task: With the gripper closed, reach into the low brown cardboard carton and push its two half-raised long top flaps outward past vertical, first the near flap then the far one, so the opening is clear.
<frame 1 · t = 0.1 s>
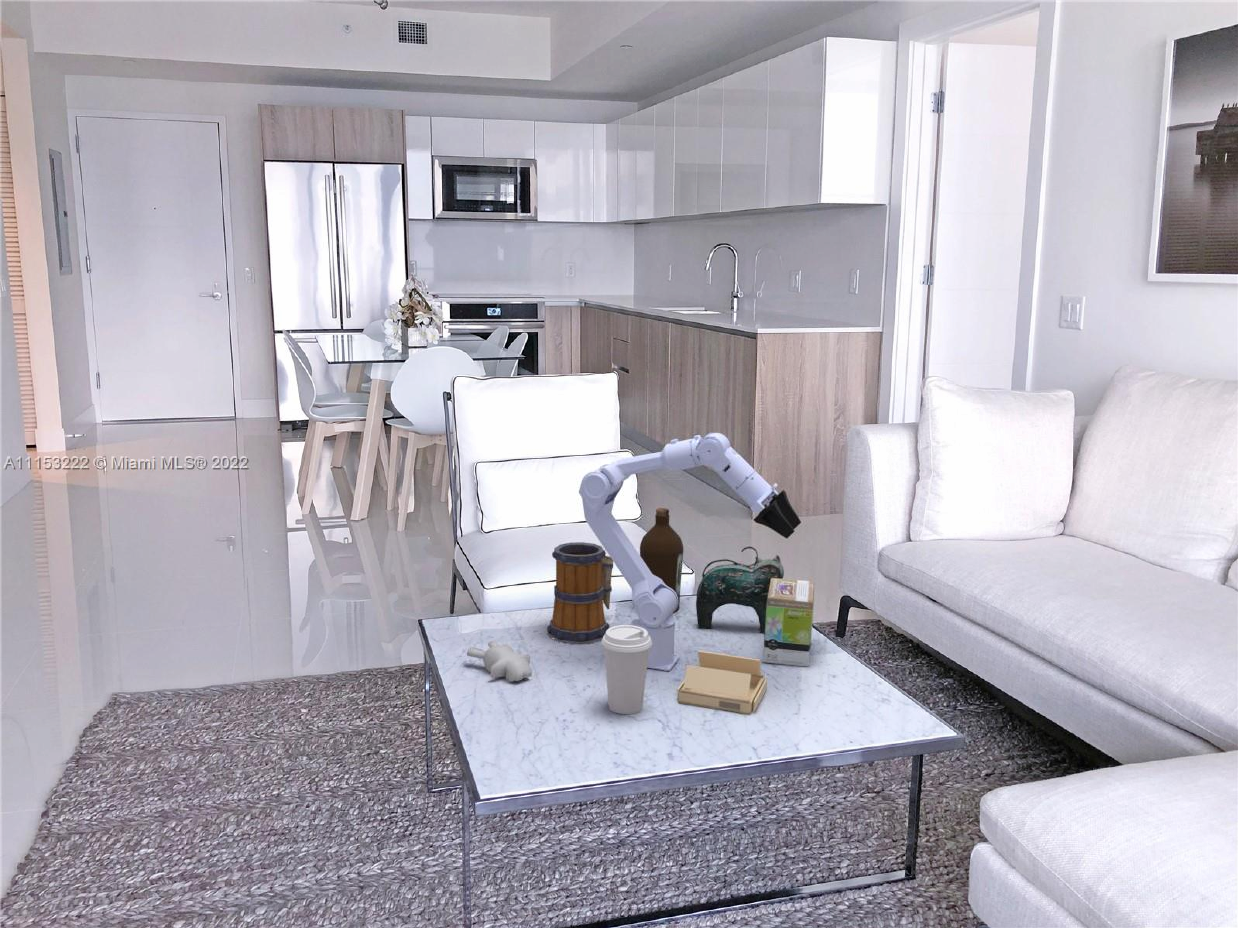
hand: (794, 530, 196), 32 cm above the table, tool tilted 50°, fingers open, 7 cm apart
flap near: (717, 681, 190), point 5 cm above the table, hinge at -30.0°
carton: (722, 694, 196), on the table
flap far: (729, 662, 199), point 5 cm above the table, hinge at -30.0°
coffee cup: (625, 707, 190), on the table
tea box: (787, 653, 218), on the table
green animal figurine: (737, 630, 231), on the table
bunny figurine: (501, 672, 206), on the table
olive oil: (660, 608, 245), on the table
mug: (584, 630, 230), on the table
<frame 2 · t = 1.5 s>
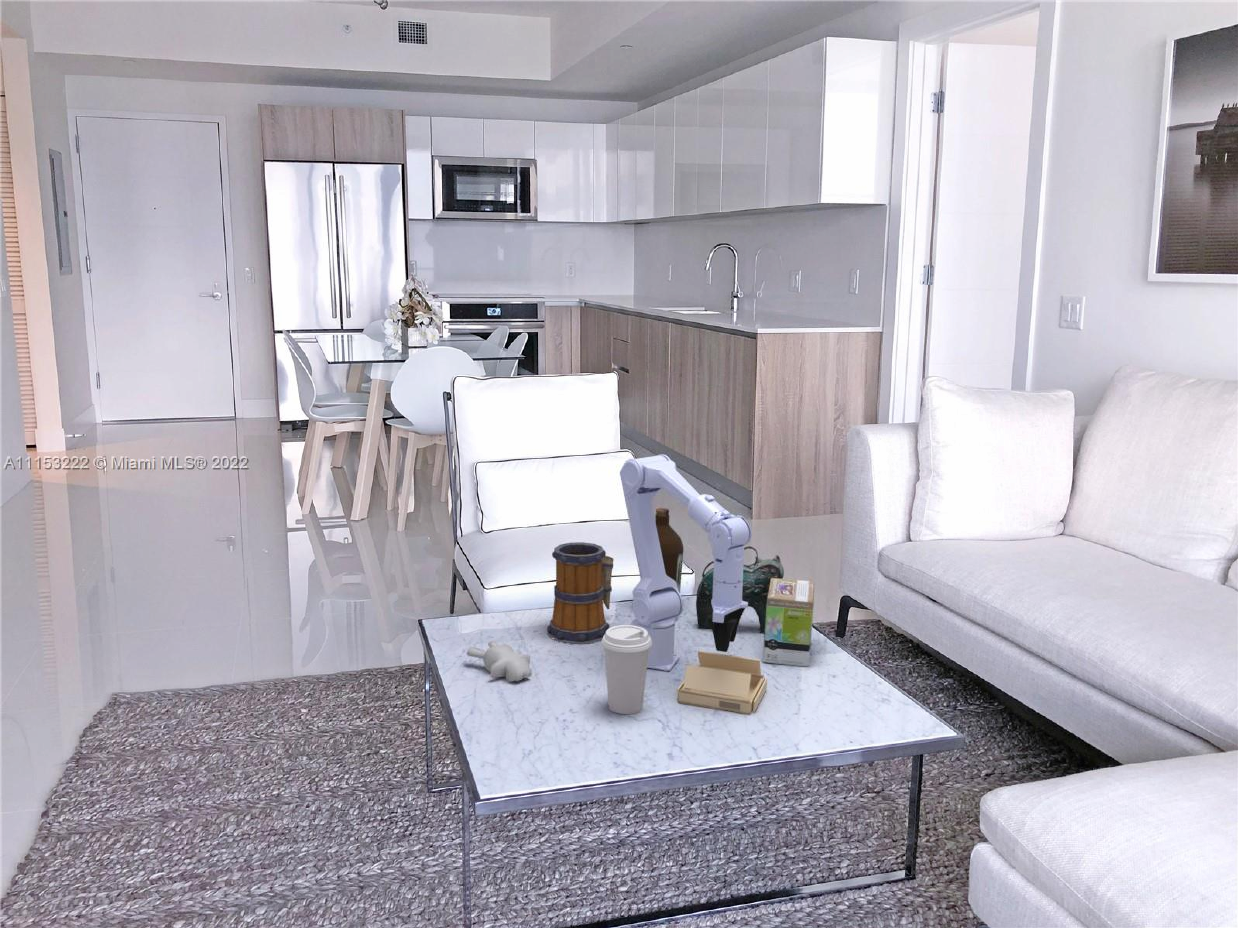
hand: (725, 645, 195), 10 cm above the table, tool pointing down, fingers open, 5 cm apart
nothing on the table moved.
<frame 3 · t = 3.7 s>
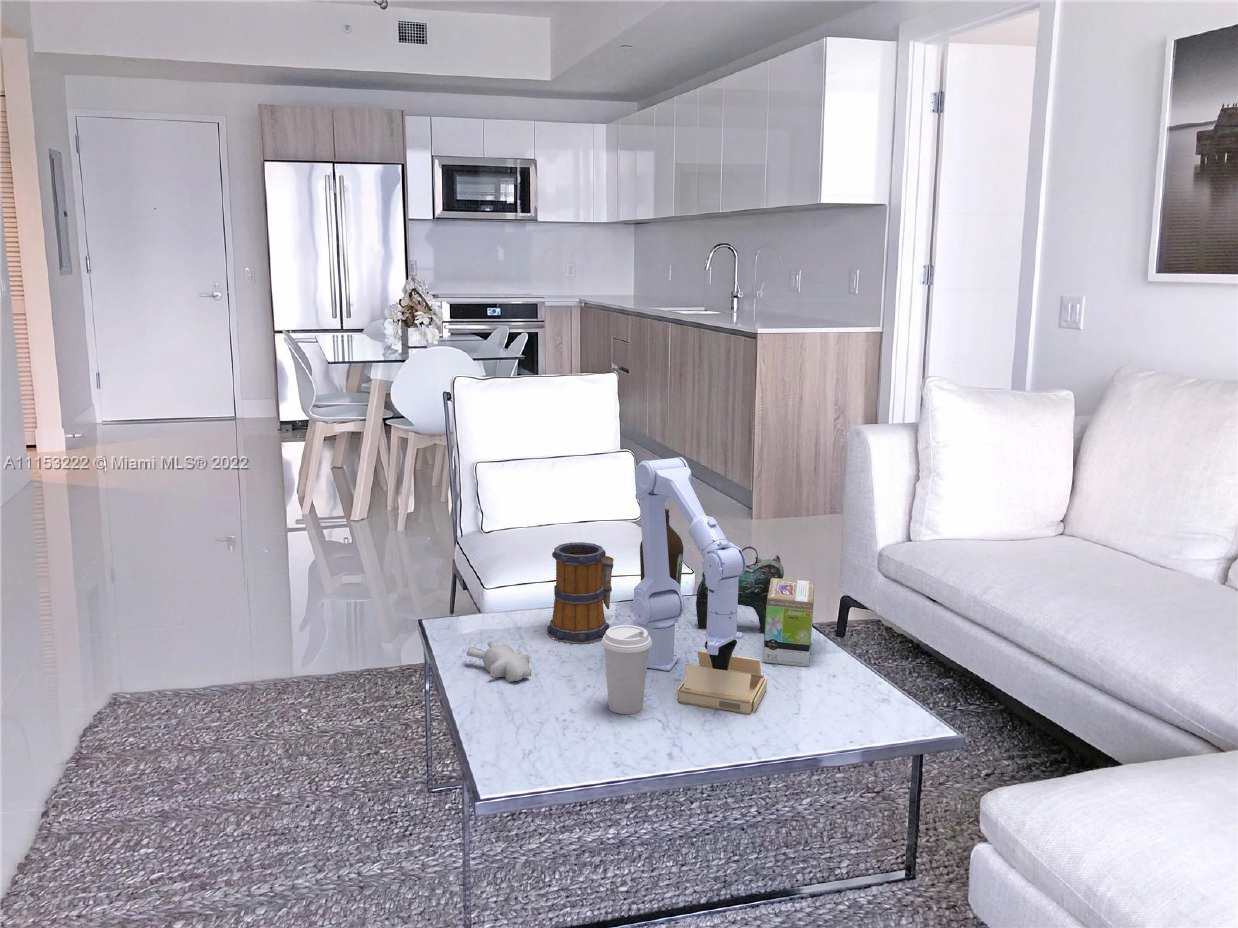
hand: (719, 676, 192), 5 cm above the table, tool pointing down, fingers closed, pressing on flap near
flap near: (717, 680, 190), point 5 cm above the table, hinge at -29.9°, touching gripper
everything else where it was.
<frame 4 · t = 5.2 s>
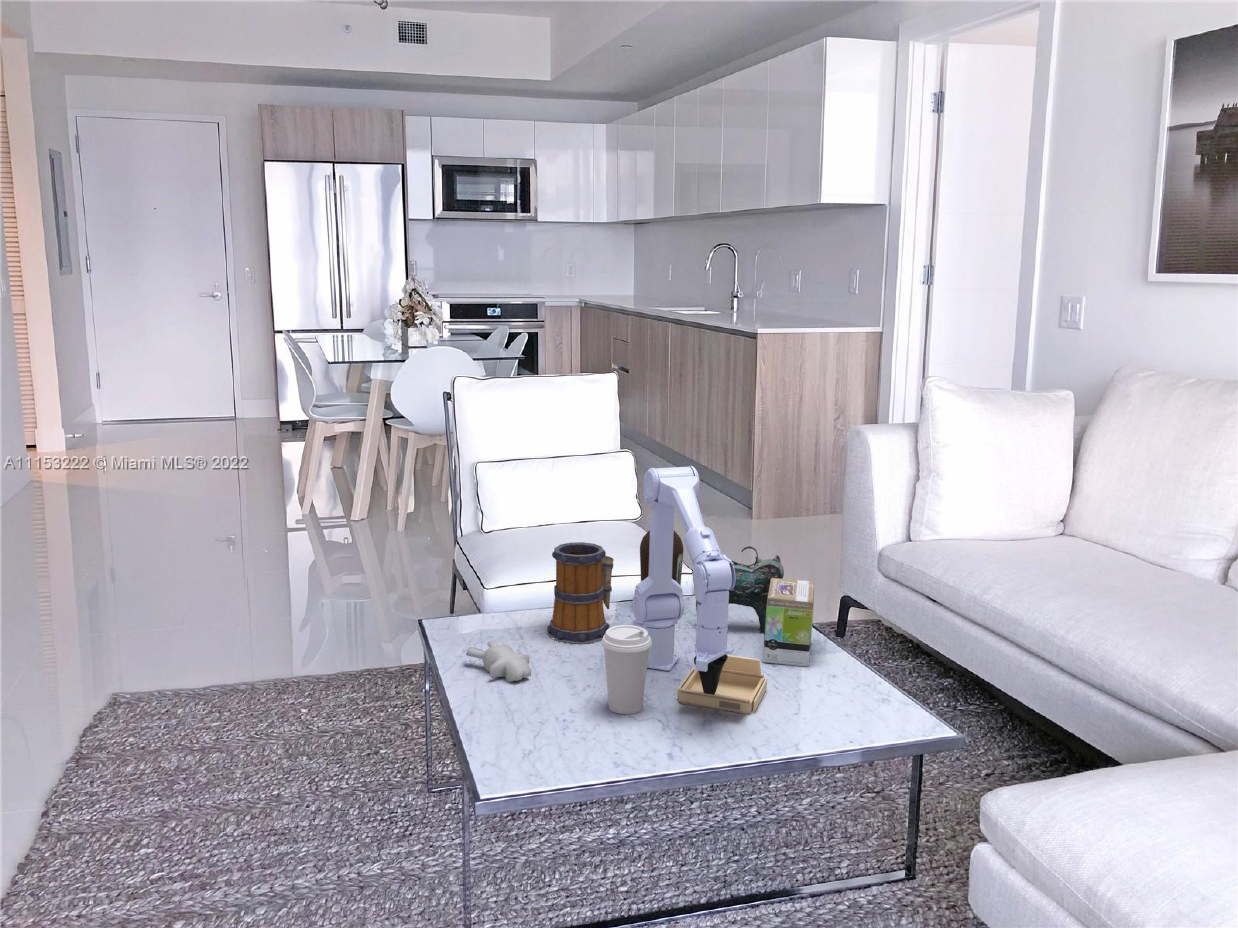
hand: (709, 693, 185), 5 cm above the table, tool pointing down, fingers closed, pressing on flap near
flap near: (711, 694, 187), point 4 cm above the table, hinge at 62.7°, touching gripper
everything else where it was.
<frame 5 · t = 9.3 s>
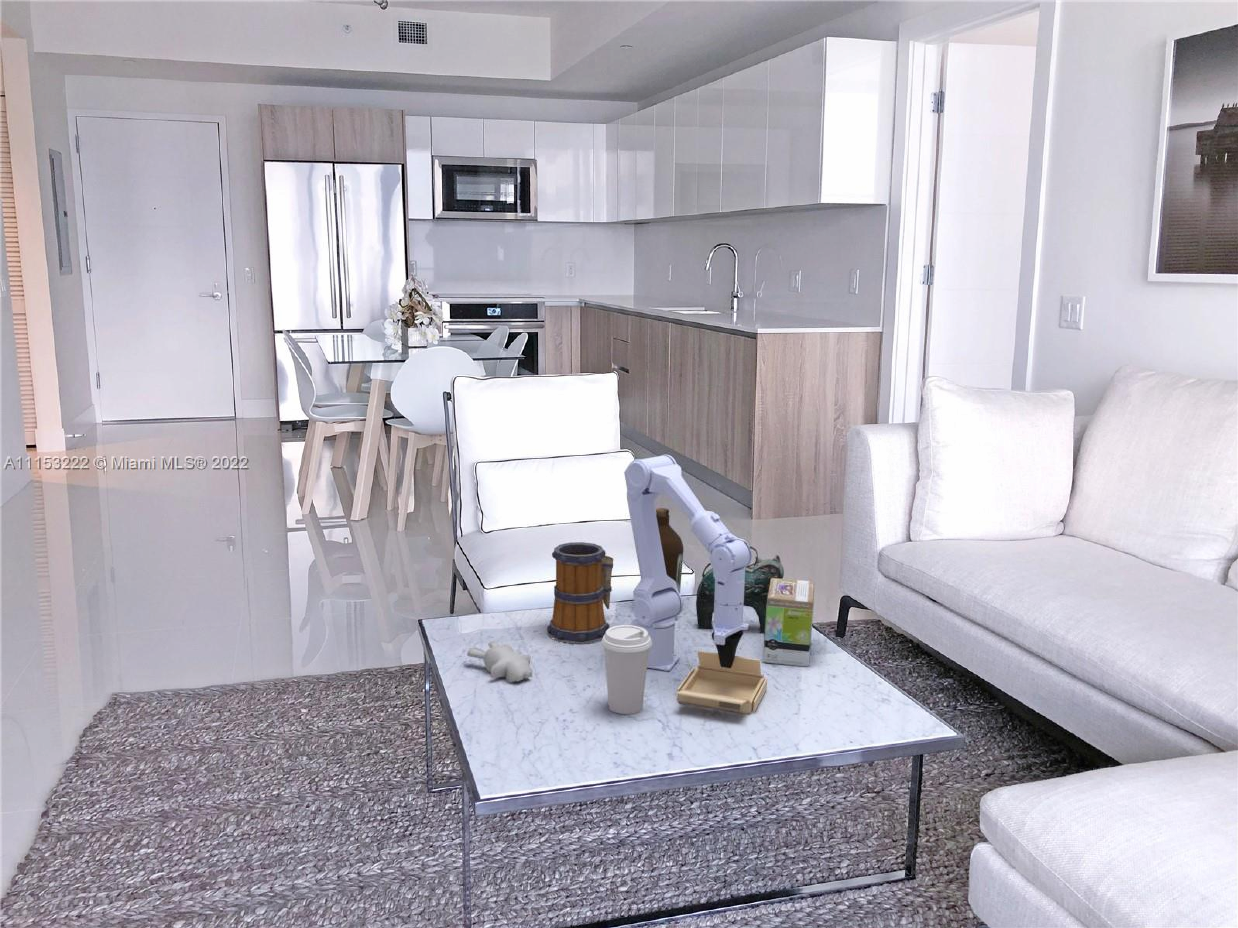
hand: (726, 666, 197), 5 cm above the table, tool pointing down, fingers closed, pressing on flap far
flap near: (711, 697, 187), point 3 cm above the table, hinge at 72.9°
flap far: (729, 662, 199), point 5 cm above the table, hinge at -30.0°, touching gripper
everything else where it was.
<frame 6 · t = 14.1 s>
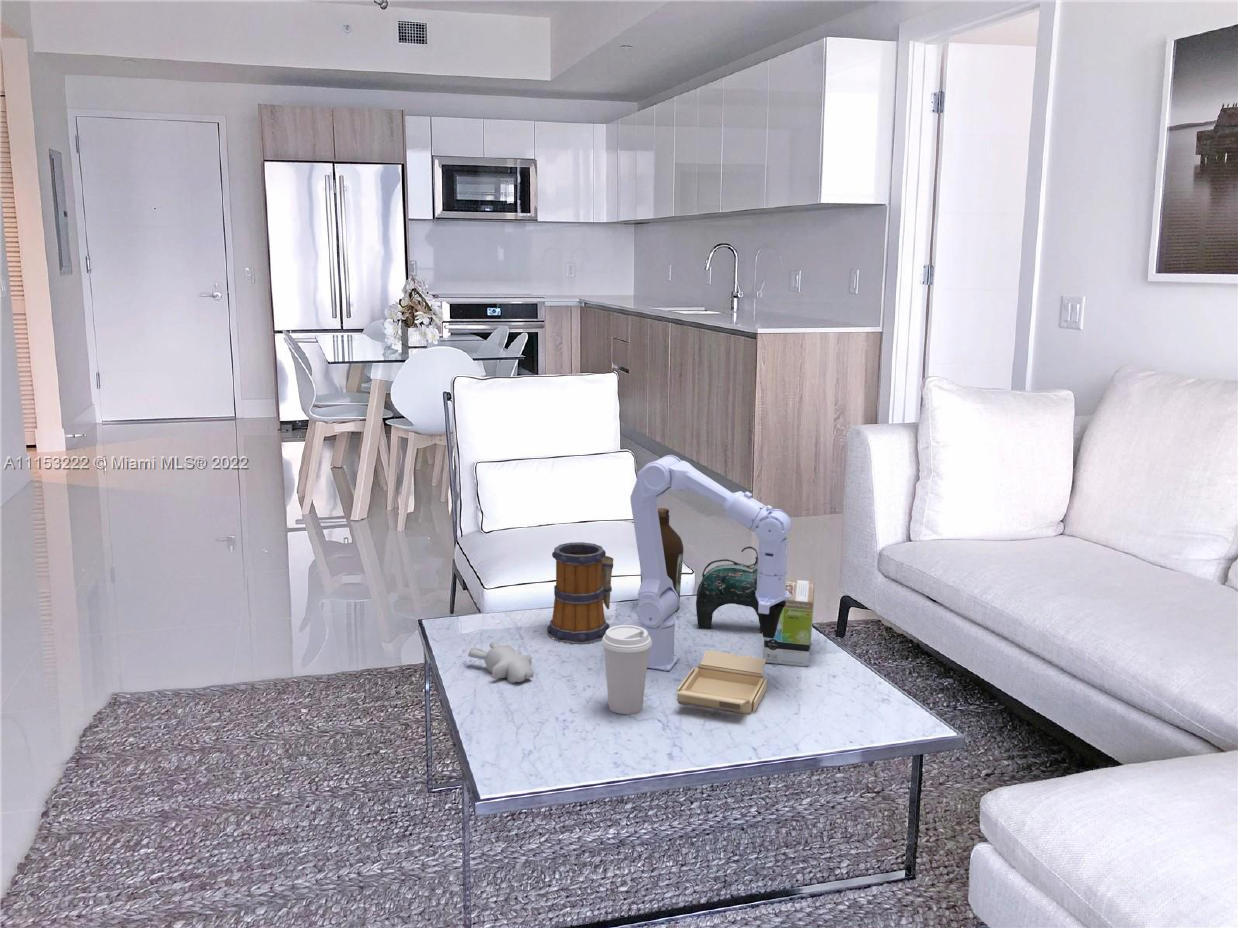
hand: (768, 636, 200), 10 cm above the table, tool pointing down, fingers closed
flap far: (733, 662, 203), point 3 cm above the table, hinge at 70.5°
everything else where it was.
at the end: flap near at +73° (first picture: -30°); flap far at +70° (first picture: -30°) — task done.
